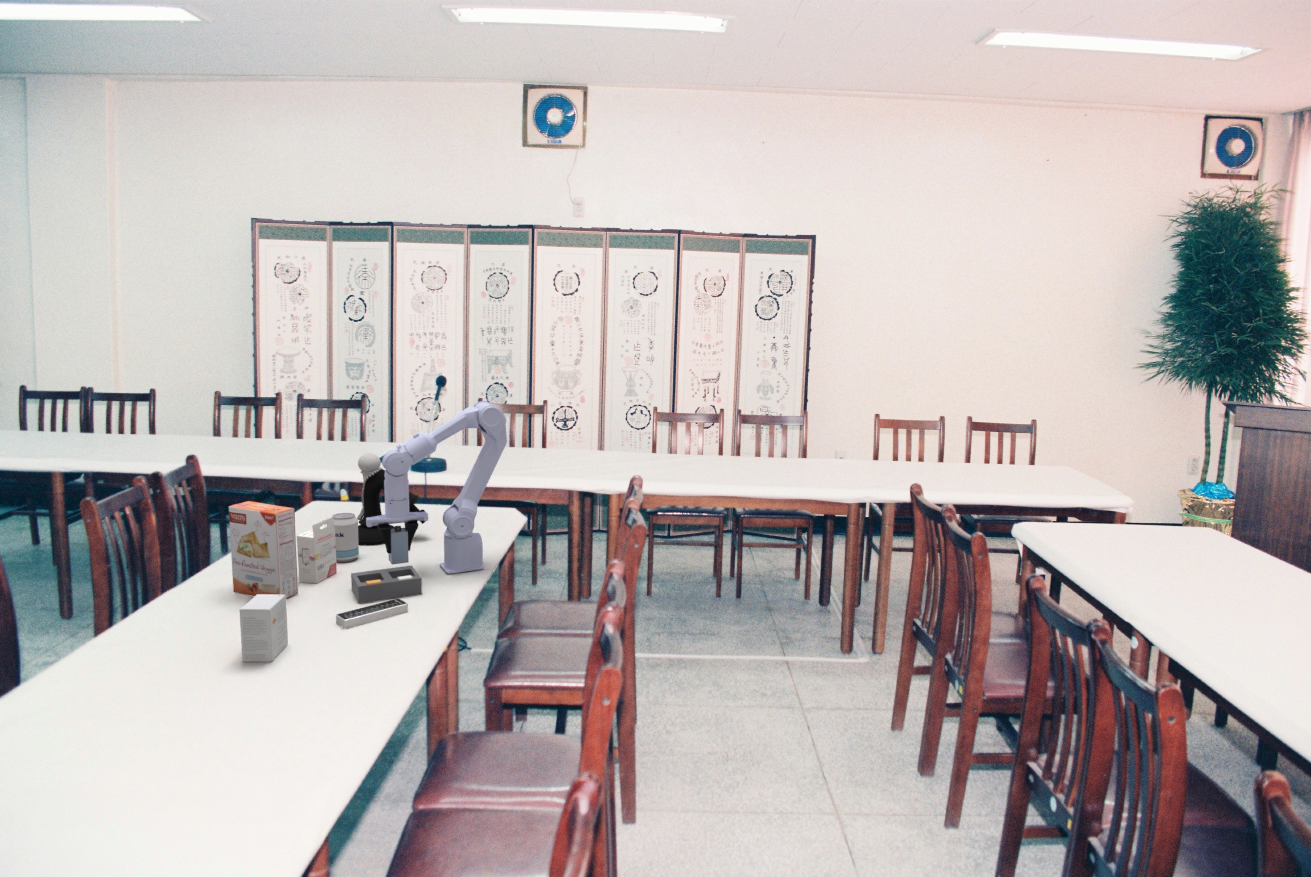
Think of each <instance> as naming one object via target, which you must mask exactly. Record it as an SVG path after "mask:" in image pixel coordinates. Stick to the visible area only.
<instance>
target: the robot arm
mask: <svg viewBox="0 0 1311 877" xmlns="http://www.w3.org/2000/svg"><path fill="white" fill-rule="evenodd" d="M464 429H480V431H481V433H482V436H483V437H484V440H485V441H484V444H483V446H482V447H481V449H480V452H479V454H478V456H477V457H476V460H475V462H474V464H473V466H472V469H471V470H470V472H469V474H468V475H467V476H468V477H467V479H466V481H465V483H464V485H463V486H462V489H461V490H460V493H459V495H458V496H457V497H456V498H455V499H454V500H453V502H452V504H451V505H450V506H449V507H447V508H446V509H445V510H444V512H443V514H442V522H443V524H444V526H445V527H446V529H445V531H444V533H443V552H444V554H443V556H444V557H443V559H444V560H443V562H441V563H439V566H440V567H441V568H442V570H443V571H444V572H445V573H446V574H449V575H450V574H457V573H464V572H471V571H472V572H473V571H480V570H484V565H483V563H484V561H483V560H484V559H483V558H484V557H483V552H484V550H483V549H484V548H483V547H484V545H483V539H482V535H481V533H479V532H473V531H474V528H475V521H476V520H475V519H476V517H477V515H478V514H477V513H478V504H479V502H480V500H481V498H482V495H484V494H483V493H484V491H485V489H486V487H487V485H488V483H489V481H490V479H491V476H492V475H493V473H494V471H495V468H496V466H497V464H498V462H499V460H500V458H501V456H502V454H503V452H504V450H505V448H506V446H507V442H508V437H507V418H506V415H505V414H504V412H503V410H502V409H501V408H500V407H499V406H498V405H496V404H492V403H491V402H488V401H487V400H481V401H477V402H476V403H475V404H473V405H470V406H467V407H466V408H465V409H463V410H462V411H461V412H459V413H457V414H455V416H453V417H451V418H450V419H449V420H447V421H445V422H444V423H443V424H441V425H440V426H439V427H436V429H434V430H432V431H431V432H425V431H422V432H420V433H419V432H415V433H413V434H412V438H411V439H409V440H408V441H405V442H404V443H403V444H397V445H396V448H395V449H389V450H388V451H386V452H385V454H384V456H383V457H382V460H381V465H382V468H384V470H385V474H384V477H385V480H384V490H385V491H384V490H383V491H384V514H382V515H380V516H375V517H368V518H366V525H367V527H372V526H376V525H377V527H378V529H379V531H380V532H381V535H382V537H383V539H384V542H385V544H384V546H385V549H386V553H387V554H388V555H389V553H391V543H390V534H391V529H390V528H389V525H388V524H390V525H393V524H402V523H404V528H405V529H406V530H407V531H408V552H410V551H411V548H412V544H413V539H414V536H415V534H416V532H417V530H418V528H419V523H418V522H420V521H426V522H427V521H429V514H428V512H427V511H425V512H409V492H410V486H409V484H410V483H409V477H408V475H409V474H408V472H409V471H410V470H411V466H414V465H415V464H417V463H419V462H422V460H424V459H425V458H427V457H428V456H430V455H432V454H433V453H435V452H436V450H437V446H438V444H440V443H442V442H443V441H445V440H447V439H448V438H451V437H452V436H454V435H455V434H457V433H459V432H460V431H463V430H464Z"/></svg>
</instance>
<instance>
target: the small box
mask: <svg viewBox="0 0 1311 877" xmlns="http://www.w3.org/2000/svg"><path fill="white" fill-rule="evenodd" d="M287 610H288V608H287V599H286V595H281V594H257V595H256V596H253V597H252V598H250V600H249V601H248V602H246V603H245V604H244V605H243V606H242V607H241V608H239V622H240V624H239V625H240V639H241V641H240V643H241V655H242V656H241V658H242V663H256V662H258V663H259V662H260V663H262V662H263V663H266V662H267V663H270V662H271V663H272V662H273V661H274V660H275V659H276V658H277V656H279V654H280V653H281V652H282V651H283V650H284V649H285V648H286V647H287V646H288V645H289V640H288V639H289V637H288V635H289V634H288V614H287V613H288V612H287Z"/></svg>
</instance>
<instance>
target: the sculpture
mask: <svg viewBox="0 0 1311 877" xmlns="http://www.w3.org/2000/svg"><path fill="white" fill-rule="evenodd" d="M357 461H358V462H357V466H358V469H360V472H359V473H360V474H362V479H363V484H362V488H361V489H362V490H361V506H362V508H361V510H360V513H359V514H358V516H357V517H356V519H357V520H358V543H359V546H366V547H367V546H379V545H381V546H382V545H385V542H384V539H383V537H382V535H381V532H380V531H379V529H378V527H377V525H376V526H372V527H367V525H366V518H368V517H375V516H380V515H383V513H382V509H381V500H380V498H381V497H380V496H381V491H382V490H383V491H384V492H385V490H384V480H385V477H384V474H385V470H386V469H383V467H381V465H382V460H381V459H380V457H379V456H378V455H377V454H375V453H372V452H371V453H369V452H368V453H364V454H363V455H361V456H360V457H359V458H358V460H357ZM418 499H419V495H418V494H415V493H412V492H411V491H409V512H426V510H425V509H419V508H418V506H416V505H415V504H416V501H417V500H418ZM419 522H420V524H421V525H423V524H425V523H426V522H427V521H419ZM388 525H389V528H390V529H394V525H393V524H388Z"/></svg>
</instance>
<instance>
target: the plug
mask: <svg viewBox="0 0 1311 877" xmlns="http://www.w3.org/2000/svg"><path fill="white" fill-rule="evenodd" d="M393 526H394V525H393ZM390 543H391V553H389V554H388V561H389V562H390V564H391V565H401V564H406V563H407V564H408V563H409V551H408V531H407V530H406V529H405V527H402V526H401V525H395V526H394V529H391V534H390Z"/></svg>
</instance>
